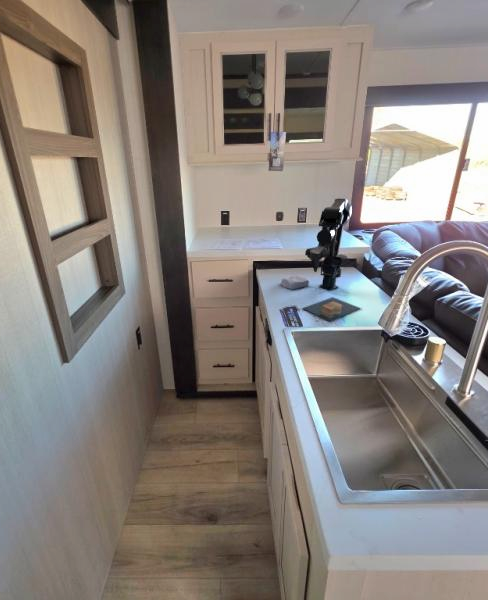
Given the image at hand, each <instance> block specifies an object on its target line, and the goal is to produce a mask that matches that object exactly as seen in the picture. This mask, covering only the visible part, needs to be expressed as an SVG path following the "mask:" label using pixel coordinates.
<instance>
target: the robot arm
mask: <svg viewBox="0 0 488 600" xmlns="http://www.w3.org/2000/svg"><path fill="white" fill-rule="evenodd" d="M352 207H353V206H352V204H351V203H349V202H348V199H347V198H341V197H339V198H338V197H337V198H335V199H334V202H333V203H332V205H330V206H326V207H325V208H323V210H322V211H321V214H320V218H319V222H318V227H321V230H320V231H318V232H317V234H316V240H317V242H318V244H317V246H314V247H309V248H306V249H305V252H304V255H305V256H307V257H306V258H308V259H309V260H310V261H311V265H312V269H313V272H314V273H317V272H318V269H319V264H320V261H321V260H322V259H323V261H322V263H321V266H320V276H322V282H321V284H320V285H319V287H320V288H322V289H326V290H328V291H332V290H335V289H337V288H338V287H339V286H337V285H336V283H337V279H339V278H341V276H342V266H343V265H346V264H349V263H350V257H349V256H348V255H345V254H342V253H341V254H339V252H340V247H341V242H342V237H343V231H344V227H345V226H346V224H347V223H348V222H349V220H350V218H351V216H352V210H353V209H352Z"/></svg>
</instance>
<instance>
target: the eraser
mask: <svg viewBox="0 0 488 600" xmlns="http://www.w3.org/2000/svg"><path fill="white" fill-rule="evenodd" d="M341 310H342V305H341V304H338V303H336V302H330V303H328V304H325V305H322V309H321V315H323V316H325V317H328V318H332V317H335V316H337V315H339V314H341Z"/></svg>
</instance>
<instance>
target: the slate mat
mask: <svg viewBox="0 0 488 600" xmlns="http://www.w3.org/2000/svg"><path fill="white" fill-rule="evenodd" d="M330 302H336V303H338V304H341V305H342V310H341V314H339V315H337V316H335V317H332V318H328V317H325V316H323V315H321V309H322V305H325V304H328V303H330ZM302 310H304V311H306V312H307V313H310V314H312V315H315V316H317V317H318V318H321V319H323V320H325V321H328V322H332V321H335V320H337V319H339V318H342V317H344V316H347V315H349V314H351V313H354V312H356V311H359V310H361V308H360V307H358V306H355V305H353V304H351V303H348V302H346V301H343V300H340V299H338V298H335V297H330V298H327V299H325V300H321V301H319V302H316V303H314V304H311V305H308V306H305V307H302Z"/></svg>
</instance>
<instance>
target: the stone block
mask: <svg viewBox="0 0 488 600" xmlns="http://www.w3.org/2000/svg"><path fill="white" fill-rule="evenodd" d="M280 285H281V286H282V287H284V288H286V289H289V290H296V289H301V288H305V287H309V285H310V281H309V279H307V278H305V277H303V276H300V275H299V276H298V275H294V276H290V277H288V278H287V277H286V278H281V281H280Z"/></svg>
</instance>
